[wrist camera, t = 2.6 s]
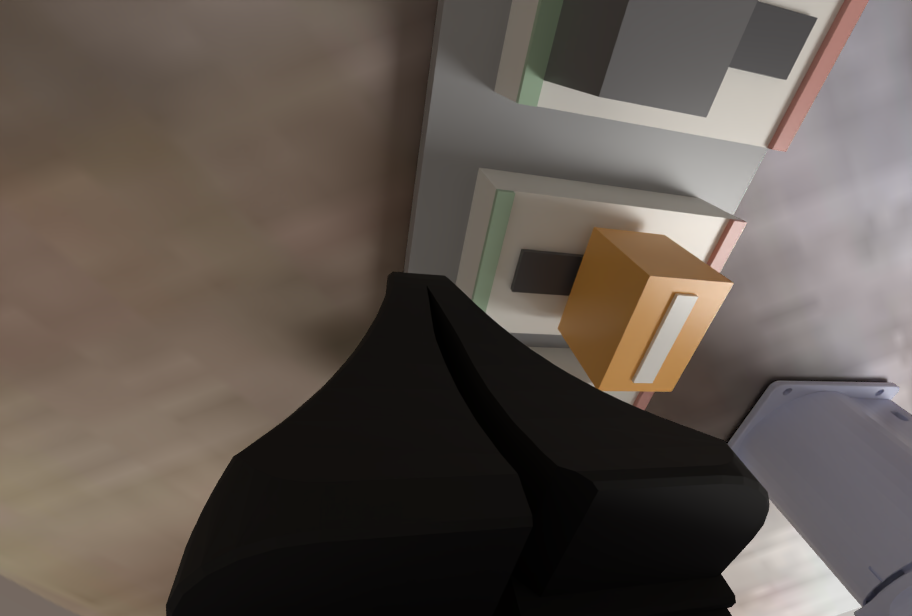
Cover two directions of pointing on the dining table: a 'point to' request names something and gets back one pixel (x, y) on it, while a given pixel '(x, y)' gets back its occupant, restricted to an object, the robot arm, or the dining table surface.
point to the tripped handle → (639, 310)
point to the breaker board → (601, 137)
